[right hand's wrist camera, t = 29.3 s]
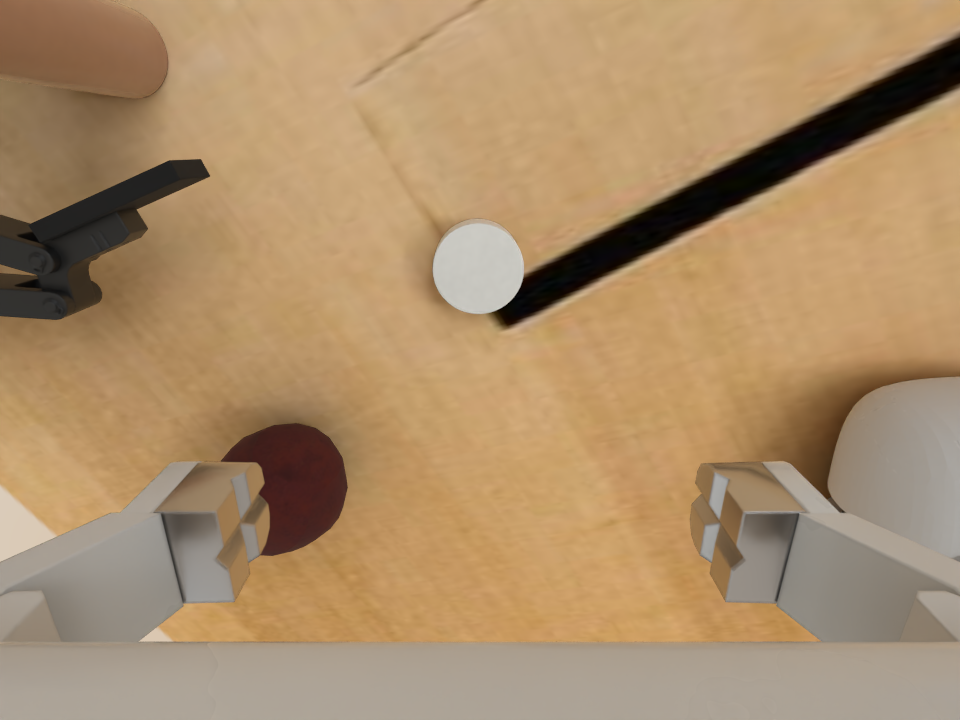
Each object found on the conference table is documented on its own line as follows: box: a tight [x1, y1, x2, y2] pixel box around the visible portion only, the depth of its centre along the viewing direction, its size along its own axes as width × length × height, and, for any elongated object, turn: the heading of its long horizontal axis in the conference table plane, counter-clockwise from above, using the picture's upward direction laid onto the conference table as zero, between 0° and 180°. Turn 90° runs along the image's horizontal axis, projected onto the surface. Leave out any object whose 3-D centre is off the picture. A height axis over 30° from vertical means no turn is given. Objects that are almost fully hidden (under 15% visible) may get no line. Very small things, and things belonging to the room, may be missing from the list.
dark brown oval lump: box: [221, 423, 347, 556], centre depth 32 cm, size 7×8×7 cm
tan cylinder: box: [0, 0, 168, 99], centre depth 20 cm, size 4×4×15 cm
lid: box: [433, 219, 524, 314], centre depth 30 cm, size 5×5×2 cm
